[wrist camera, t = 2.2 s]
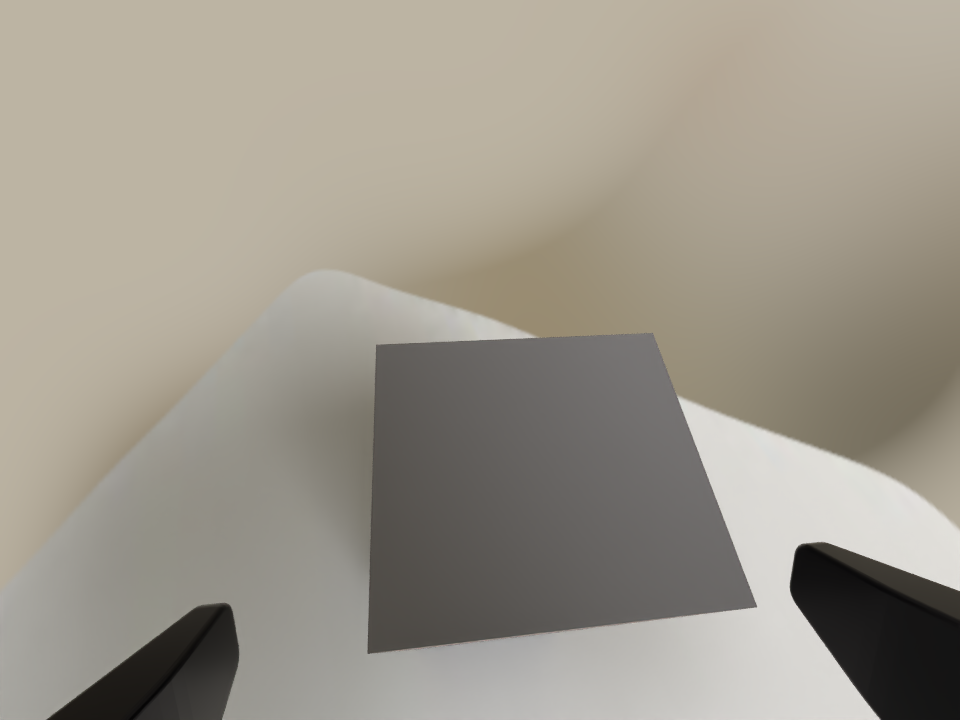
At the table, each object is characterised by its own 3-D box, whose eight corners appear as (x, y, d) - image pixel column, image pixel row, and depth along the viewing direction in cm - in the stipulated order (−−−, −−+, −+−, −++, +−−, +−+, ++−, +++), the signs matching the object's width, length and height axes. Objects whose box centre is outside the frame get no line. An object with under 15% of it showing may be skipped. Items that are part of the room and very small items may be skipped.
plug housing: (556, 632, 14) (757, 606, 5) (417, 649, 14) (368, 652, 5) (536, 507, 17) (652, 332, 7) (414, 517, 16) (376, 345, 7)
